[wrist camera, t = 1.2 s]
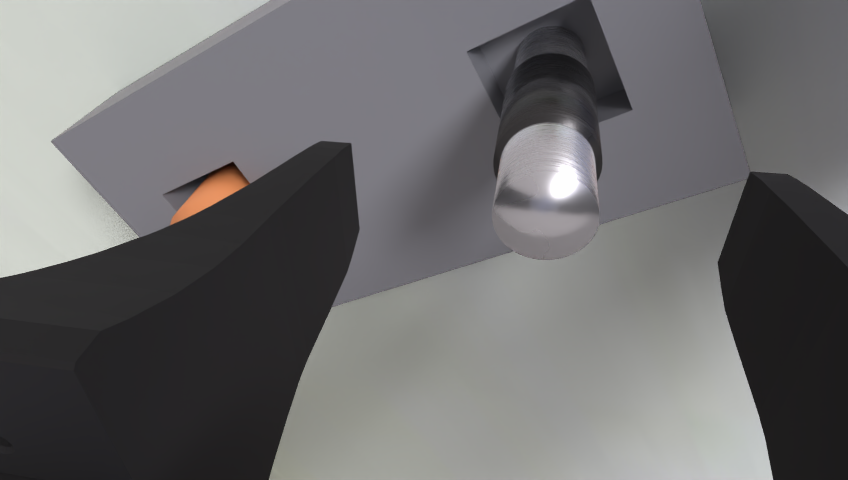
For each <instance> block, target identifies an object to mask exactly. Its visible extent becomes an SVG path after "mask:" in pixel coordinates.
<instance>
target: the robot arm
mask: <svg viewBox="0 0 848 480" xmlns="http://www.w3.org/2000/svg"><path fill="white" fill-rule="evenodd" d="M359 230H360V227H359V217H358V206H357V196H356V186H355V176H354V165H353V155H352V145H351V143H344V142H330V141H320V142H318V143H316V144H314V145H312V146H310V147H308V148H307V149H305V150H303V151H302V152H300V153H298V154H297V155H295V156H294V157H292V158H290V159H289V160H287V161H286V162H284V163H283V164H281V165H279V166H278V167H276V168H275V169H273V170H271V171H270V172H268V173H267V174H265V175H263V176H262V177H260V178H259V179H257V180H255V181H254V182H252V183H250V184H249V185H247V186H245V187H243V188H242V189H240V190H238V191H236V192H235V193H233V194H231V195H229V196H227V197H226V198H224V199H222V200H220V201H219V202H217V203H215V204H213V205H211V206H210V207H208V208H206V209H204V210H202V211H200V212H198V213H196V214H194V215H192V216H190V217H187V218H185V219H183V220H181V221H179V222H176V223H174V224H172V225H170V226H167V227H165V228H163V229H161V230H158V231H156V232H153V233H151V234H148V235H145V236H143V237H140V238H137V239H134V240H131V241H129V242H126V243H123V244H120V245H118V246H115V247H112V248H109V249H107V250H104V251H101V252H98V253H95V254H92V255H88V256H85V257H81V258H78V259H75V260H71V261H68V262H64V263H61V264H57V265H53V266H49V267H46V268H42V269H38V270H34V271H30V272H26V273H22V274H18V275H13V276H8V277H3V278H0V480H269V476H270V473H271V469H272V466H273V462H274V459H275V456H276V452H277V449H278V446H279V443H280V439H281V436H282V433H283V429H284V426H285V423H286V420H287V416H288V413H289V410H290V407H291V404H292V401H293V398H294V395H295V392H296V389H297V386H298V383H299V380H300V377H301V374H302V372H303V370H304V367H305V365H306V362H307V360H308V357H309V355H310V353H311V351H312V349H313V346H314V344H315V342H316V340H317V338H318V335H319V333H320V331H321V329H322V327H323V325H324V322H325V320H326V318H327V316H328V314H329V312H330V309H331V307H332V305H333V303H334V301H335V298H336V296H337V294H338V292H339V290H340V287H341V285H342V283H343V281H344V278H345V276H346V274H347V271H348V269H349V265H350V262H351V259H352V255H353V252H354V248H355V245H356V241H357V238H358V234H359ZM718 267H719V275H720V282H721V289H722V295H723V301H724V307H725V311H726V315H727V318H728V321H729V325H730V328H731V331H732V334H733V337H734V340H735V343H736V347H737V350H738V353H739V356H740V359H741V362H742V365H743V368H744V371H745V374H746V377H747V380H748V383H749V386H750V389H751V392H752V395H753V399H754V402H755V405H756V408H757V411H758V414H759V417H760V421H761V425H762V428H763V432H764V436H765V440H766V445H767V450H768V455H769V460H770V465H771V470H772V475H773V480H848V215H847V214H846V213H845V212H843V211H842V210H840V209H839V208H838V207H836V206H835V205H833V204H832V203H831V202H829V201H828V200H826V199H825V198H824V197H822V196H821V195H819V194H818V193H817V192H815V191H814V190H812V189H811V188H809V187H808V186H806V185H805V184H803V183H802V182H800V181H798V180H797V179H795V178H793V177H792V176H790V175H788V174H776V173H762V172H750V173H749V176H748V179H747V182H746V185H745V187H744V190H743V193H742V196H741V199H740V202H739V204H738V207H737V210H736V213H735V216H734V218H733V221H732V224H731V227H730V230H729V233H728V235H727V238H726V241H725V244H724V247H723V249H722V252H721V255H720V258H719V261H718Z"/></svg>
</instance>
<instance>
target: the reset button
mask: <svg viewBox="0 0 848 480" xmlns="http://www.w3.org/2000/svg"><path fill="white" fill-rule="evenodd" d="M249 184H250V183H249V181H248V180H247V179H246V178H245V176H244V175H243V174H242V172H241V171H240V170H239V169H238V167H237V166H236V165H235V163H234V162H231V163H229V164H227V165H224V166H222V167H220V168H218V169H216V170H214V171H212V172H211V173H210V174H209V175H208V176H207V177H206V179H205V180H204V181H203V182H202V183H201V184H200V186H199V187H198V188H197V189H196V190H195V191H194V193H193V194H192V195H191V196H190V197H189V198H188V200H187V201H186V202H185V203H184V204H183V205H182V206H181V208H180V209H179V210H178V211H177V212H176V213H175V215H174V216H173V218H172V219H171V223H170V225H172V224H174V223H176V222H179V221H181V220H183V219H185V218H187V217H190V216H192V215H194V214H196V213H198V212H200V211H202V210H204V209H206V208H208V207H210V206H211V205H213V204H215V203H217V202H219V201H220V200H222V199H224V198H226V197H227V196H229V195H231V194H233V193H235V192H236V191H238V190H240V189H242V188H243V187H245V186H247V185H249Z"/></svg>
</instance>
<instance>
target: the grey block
mask: <svg viewBox="0 0 848 480" xmlns="http://www.w3.org/2000/svg"><path fill="white" fill-rule="evenodd" d="M545 26H561V27H565V28H567V29H569V30H571V31H573V32H574V33H575V34H576V35H577V36H578V37H579V38H580V39H581V41H582V42H583V44H584V47H585V50H586V57H587V69H588V71H589V72H590V74H591V76H592V78H593V81H594V84H595V91H596V100H597V110H598V120H599V130H600V139H601V149H602V163H603V165H602V171H601V174H600V177H599V179H598V181H597V188H598V200H599V212H600V220H599V225H600V224H603V223H606V222H609V221H613V220H616V219H619V218H622V217H626V216H629V215H632V214H635V213H639V212H642V211H645V210H648V209H652V208H655V207H658V206H661V205H664V204H668V203H671V202H674V201H677V200H681V199H684V198H687V197H690V196H694V195H697V194H700V193H703V192H707V191H710V190H713V189H716V188H720V187H723V186H726V185H729V184H733V183H736V182H739V181H742V180H746V179H748V176H749V173H750V170H749V166H748V163H747V159H746V156H745V152H744V149H743V146H742V142H741V139H740V135H739V132H738V128H737V125H736V121H735V118H734V115H733V111H732V108H731V104H730V101H729V97H728V94H727V90H726V87H725V84H724V80H723V77H722V73H721V70H720V66H719V63H718V59H717V56H716V53H715V49H714V46H713V42H712V39H711V35H710V32H709V28H708V25H707V22H706V18H705V15H704V11H703V8H702V4H701V1H700V0H271V1H269V2H267V3H266V4H264V5H262V6H261V7H259V8H257V9H256V10H254V11H252V12H251V13H249V14H247V15H246V16H244V17H242V18H241V19H239V20H237V21H236V22H234V23H232V24H231V25H229V26H227V27H225V28H224V29H222V30H220V31H219V32H217V33H215V34H214V35H212V36H210V37H209V38H207V39H205V40H204V41H202V42H200V43H199V44H197V45H195V46H194V47H192V48H190V49H189V50H187V51H185V52H184V53H182V54H180V55H179V56H177V57H175V58H174V59H172V60H170V61H169V62H167V63H165V64H164V65H162V66H160V67H159V68H157V69H155V70H154V71H152V72H150V73H149V74H147V75H145V76H144V77H142V78H140V79H139V80H137V81H135V82H134V83H132V84H130V85H129V86H127V87H125V88H124V89H122V90H120V91H118V92H117V93H115V94H114V95H113V96H111V97H110V98H109V99H107V100H106V101H105V102H103V103H102V104H101V105H99V106H98V107H96V108H95V109H94V110H92V111H91V112H90V113H88V114H87V115H86V116H84V117H83V118H82V119H80V120H79V121H77V122H76V123H75V124H73V125H72V126H71V127H69V128H68V129H67V130H65V131H64V132H63V133H61V134H60V135H59V136H57V137H56V138H54V139H53V140H52V141H51V142H52V143H53V144H54V146H55V147H56V148H57V149H58V150H59V151H60V152H61V153H62V154H63V155H64V156H65V157H66V158H67V160H68V161H69V162H70V163H71V164H72V165H73V166H74V167H75V168H76V169H77V170H78V171H79V172H80V174H81V175H82V176H83V177H84V178H85V179H86V180H87V181H88V182H89V183H90V184H91V185H92V186H93V188H94V189H95V190H96V191H97V192H98V193H99V194H100V195H101V196H102V197H103V198H104V199H105V200H106V202H107V203H108V204H109V205H110V206H111V207H112V208H113V209H114V210H115V211H116V212H117V213H118V214H119V216H120V217H121V218H122V219H123V220H124V221H125V222H126V223H127V224H128V225H129V226H130V227H131V228H132V229H133V231H134V232H135V233H136V234H137V235H138V236H139V237H143V236H145V235H148V234H151V233H153V232H156V231H158V230H161V229H163V228H165V227H167V226H170V223H171V219H172V218H173V216H174V215H175V213H176V212H177V211H178V210H179V209H180V208H181V206H182V205H183V204H184V203H185V202H186V201H187V200H188V198H189V197H190V196H191V195H192V194H193V193H194V191H195V190H196V189H197V188H198V187H199V186H200V184H201V183H202V182H203V181H204V180H205V179H206V177H207V176H208V175H209V174H210V173H211V172H212V171H214V170H216V169H218V168H220V167H222V166H224V165H227V164H229V163H231V162H234V163H235V165H236V166H237V167H238V169H239V170H240V171H241V172H242V174H243V175H244V176H245V178H246V179H247V180H248V181H249V183H252V182H254V181H255V180H257V179H259V178H260V177H262V176H263V175H265V174H267V173H268V172H270V171H271V170H273V169H275V168H276V167H278V166H279V165H281V164H283V163H284V162H286V161H287V160H289V159H290V158H292V157H294V156H295V155H297V154H298V153H300V152H302V151H303V150H305V149H307V148H308V147H310V146H312V145H314V144H316V143H318V142H320V141H330V142H344V143H351V145H352V155H353V165H354V176H355V186H356V196H357V206H358V217H359V227H360V230H359V234H358V238H357V241H356V245H355V248H354V252H353V255H352V259H351V262H350V265H349V269H348V271H347V274H346V276H345V278H344V281H343V283H342V285H341V287H340V290H339V292H338V294H337V296H336V298H335V301H334V303H333V305H332V307H334V306H337V305H340V304H343V303H347V302H350V301H353V300H356V299H360V298H363V297H366V296H369V295H373V294H376V293H379V292H382V291H386V290H389V289H392V288H395V287H399V286H402V285H405V284H408V283H412V282H415V281H418V280H421V279H425V278H428V277H431V276H434V275H437V274H441V273H444V272H447V271H450V270H454V269H457V268H460V267H463V266H467V265H470V264H473V263H476V262H480V261H483V260H486V259H489V258H493V257H496V256H499V255H502V254H506V253H509V252H512V251H513V250H511V249H510V248H509V247H507V246H506V245H505V244H504V243H503V242H502V241H501V240H500V238H499V237H498V235H497V234H496V231H495V229H494V226H493V222H492V210H493V203H494V197H495V191H496V184H497V179H496V177H495V173H494V168H493V158H494V153H495V147H496V141H497V135H498V129H499V124H500V118H501V112H502V106H503V101H504V95H505V89H506V85H507V82H508V80H509V78H510V76H511V74H512V73H513V71H514V68H515V62H516V56H517V51H518V48H519V46H520V44H521V43H522V41H523V40H524V39H525V38H526V37H527V36H528V35H529V34H530V33H531V32H533V31H535V30H536V29H539V28H541V27H545Z"/></svg>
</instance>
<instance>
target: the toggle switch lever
mask: <svg viewBox="0 0 848 480" xmlns="http://www.w3.org/2000/svg"><path fill="white" fill-rule="evenodd" d="M602 165H603V163H602V149H601V139H600V130H599V120H598V110H597V100H596V91H595V84H594V81H593V78H592V76H591V74H590V72H589V71H588V69H587V57H586V50H585V47H584V44H583V42H582V41H581V39H580V38H579V37H578V36H577V35H576V34H575V33H574V32H573V31H571V30H569V29H567V28H565V27H561V26H545V27H541V28H539V29H536V30H535V31H533V32H531V33H530V34H529V35H528V36H527V37H526V38H525V39H524V40H523V41H522V43H521V44H520V46H519V48H518V51H517V56H516V62H515V68H514V71H513V73H512V74H511V76H510V78H509V80H508V82H507V85H506V89H505V95H504V101H503V106H502V112H501V118H500V124H499V129H498V135H497V141H496V147H495V153H494V158H493V168H494V173H495V177H496V179H497V184H496V191H495V197H494V203H493V210H492V222H493V226H494V229H495V231H496V234H497V235H498V237H499V238H500V240H501V241H502V242H503V243H504V244H505V245H506V246H507V247H509V248H510V249H511V250H513V251H515V252H516V253H518V254H521V255H523V256H526V257H529V258H534V259H542V260H552V259H559V258H563V257H566V256H569V255H572V254H574V253H576V252H578V251H579V250H581V249H582V248H583V247H585V246H586V245H587V244H588V243H589V242H590V241H591V240H592V238H593V237H594V235H595V233H596V231H597V229H598V226H599V220H600V212H599V200H598V188H597V181H598V179H599V177H600V174H601V171H602Z"/></svg>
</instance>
